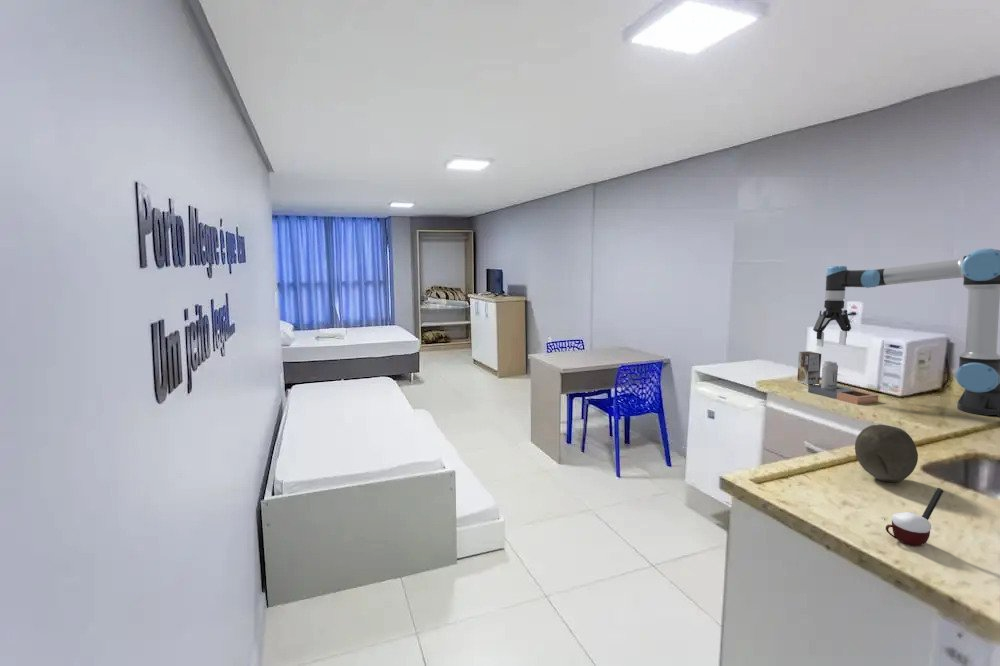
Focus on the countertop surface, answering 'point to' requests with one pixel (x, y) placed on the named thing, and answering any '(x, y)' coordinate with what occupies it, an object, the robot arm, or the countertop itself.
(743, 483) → the countertop surface
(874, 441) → the dark grey rounded lump
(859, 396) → the shallow tray
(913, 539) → the cocoa
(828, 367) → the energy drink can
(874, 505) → the countertop surface
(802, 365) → the coffee box
